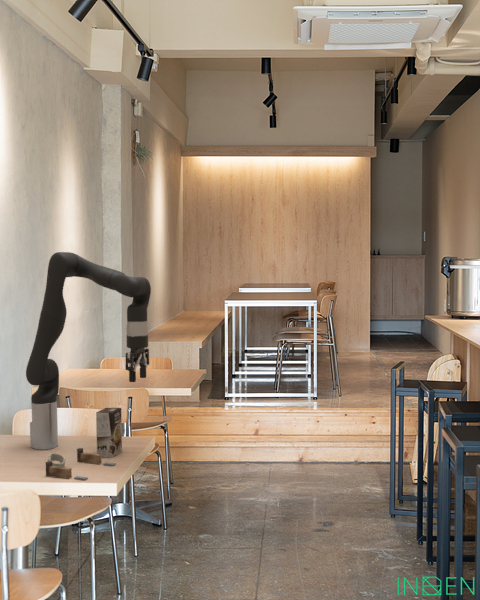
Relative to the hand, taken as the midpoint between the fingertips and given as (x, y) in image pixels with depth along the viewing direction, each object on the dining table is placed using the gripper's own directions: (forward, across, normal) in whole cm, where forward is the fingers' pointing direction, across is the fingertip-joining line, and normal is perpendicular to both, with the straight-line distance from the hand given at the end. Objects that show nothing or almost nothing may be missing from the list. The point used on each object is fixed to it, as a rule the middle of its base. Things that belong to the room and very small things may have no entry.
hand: (137, 379), depth 227 cm
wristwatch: (+28, +17, -23) cm, 40 cm away
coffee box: (+28, -2, -13) cm, 31 cm away
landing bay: (+28, +18, -7) cm, 34 cm away
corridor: (+28, +17, -15) cm, 36 cm away
